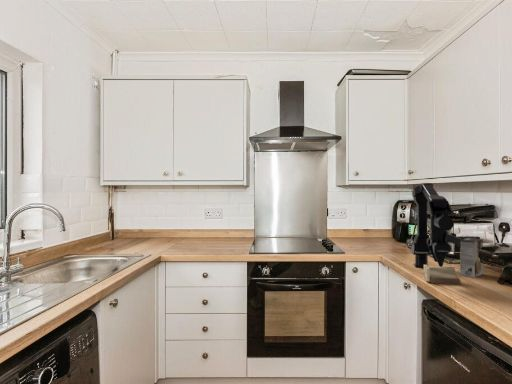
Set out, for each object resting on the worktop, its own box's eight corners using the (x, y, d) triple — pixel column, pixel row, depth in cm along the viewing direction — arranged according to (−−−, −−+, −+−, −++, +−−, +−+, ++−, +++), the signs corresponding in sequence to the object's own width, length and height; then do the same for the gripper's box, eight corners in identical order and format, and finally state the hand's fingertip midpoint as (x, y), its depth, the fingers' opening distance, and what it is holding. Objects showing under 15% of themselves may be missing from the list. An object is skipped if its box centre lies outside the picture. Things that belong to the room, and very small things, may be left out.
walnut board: (424, 273, 159) (424, 268, 159) (450, 274, 155) (450, 270, 155) (430, 282, 143) (430, 277, 143) (460, 284, 140) (460, 279, 140)
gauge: (423, 277, 150) (423, 264, 150) (452, 278, 147) (452, 265, 147) (426, 281, 144) (426, 267, 144) (456, 283, 140) (456, 269, 140)
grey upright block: (468, 271, 160) (467, 237, 160) (483, 274, 155) (483, 239, 155) (459, 274, 155) (459, 239, 155) (475, 277, 150) (474, 241, 149)
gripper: (465, 230, 134) (466, 270, 134) (453, 225, 152) (454, 260, 152) (434, 230, 137) (434, 268, 137) (426, 225, 155) (426, 259, 155)
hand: (438, 264), depth 145 cm, fingers open, 9 cm apart
